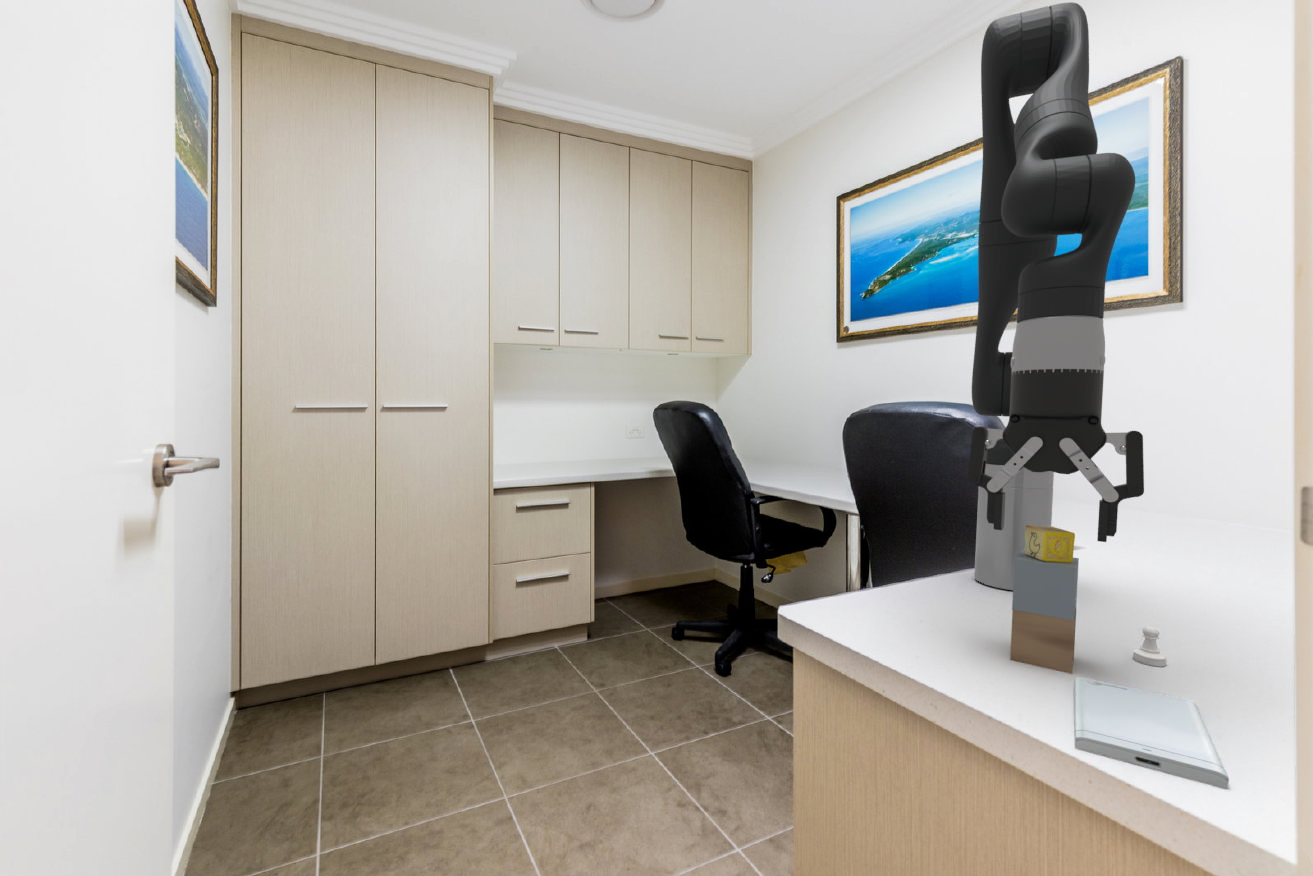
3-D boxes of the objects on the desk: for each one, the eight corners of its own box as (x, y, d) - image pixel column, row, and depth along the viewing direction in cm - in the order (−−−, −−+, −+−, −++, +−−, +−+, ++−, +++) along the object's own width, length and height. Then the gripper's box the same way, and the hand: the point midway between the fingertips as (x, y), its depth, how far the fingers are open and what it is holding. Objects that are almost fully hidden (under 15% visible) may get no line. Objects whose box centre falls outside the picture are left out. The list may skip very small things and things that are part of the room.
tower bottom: (1016, 645, 64) (1018, 598, 64) (1073, 657, 61) (1076, 608, 61) (1010, 660, 60) (1012, 610, 60) (1071, 674, 57) (1074, 621, 57)
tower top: (1018, 598, 64) (1020, 550, 64) (1076, 608, 61) (1078, 558, 61) (1012, 609, 60) (1014, 558, 60) (1073, 620, 57) (1076, 567, 57)
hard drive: (1074, 675, 54) (1075, 733, 44) (1196, 701, 50) (1229, 772, 39) (1073, 693, 54) (1074, 756, 44) (1195, 721, 50) (1228, 797, 39)
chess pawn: (1160, 659, 61) (1162, 624, 61) (1170, 669, 59) (1172, 633, 59) (1128, 655, 62) (1130, 620, 62) (1137, 664, 60) (1139, 628, 60)
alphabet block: (1053, 555, 62) (1054, 525, 62) (1074, 563, 59) (1075, 531, 58) (1022, 555, 62) (1024, 524, 62) (1042, 562, 59) (1043, 530, 58)
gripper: (1148, 369, 58) (1138, 539, 59) (980, 372, 67) (973, 521, 67) (1152, 363, 52) (1142, 552, 53) (967, 367, 61) (960, 530, 61)
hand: (1047, 534), depth 60 cm, fingers open, 8 cm apart
